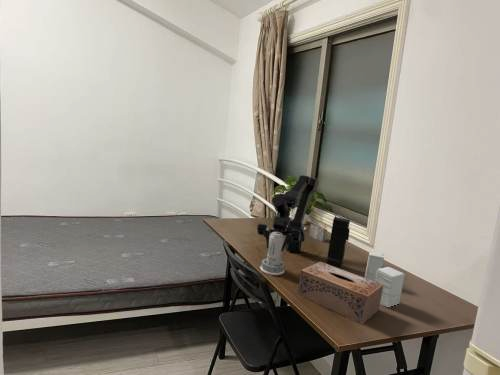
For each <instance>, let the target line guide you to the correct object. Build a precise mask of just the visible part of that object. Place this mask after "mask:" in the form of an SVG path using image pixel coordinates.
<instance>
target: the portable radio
mask: <svg viewBox="0 0 500 375" xmlns="http://www.w3.org/2000/svg"><path fill="white" fill-rule="evenodd" d="M350 221H351V220H350V219H347V218H344V217H343V218H342V217H338V216H337V215H335V216H334V218H333V220H332V227H331V233H330V239H329V244H328V252H327V257H326V263H325V264H328V265H331V266H334V267H336V268H339V269H341V268H342V267H343V264H344V257H345V251H346V246H347V242H348V241H349V238H350V230H351V229H350V228H349V227H350Z"/></svg>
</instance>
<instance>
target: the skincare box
mask: <svg viewBox="0 0 500 375" xmlns="http://www.w3.org/2000/svg"><path fill="white" fill-rule="evenodd" d="M384 260H385V256H384V254H382V253H377V252H372V251H369V253H368V258H367V262H366V268H365V273H364V277H363V278H366V279H369V280H372V281H374V282H375V279H376V273H377V269H380V268H383V265H384Z"/></svg>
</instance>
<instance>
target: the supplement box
mask: <svg viewBox="0 0 500 375" xmlns="http://www.w3.org/2000/svg"><path fill="white" fill-rule="evenodd" d="M405 275H406V274H405V273H403V272H401V271H399V270H397V269H394V268H392V267H390V266H385V267H382V268H380V269H377V273H376V279H375V282H377V283H380V284H382V285H383V290H382V296H381V301H380V305H381V304H382V305H381V306H383V305H384V306H386V307H389V308H391V306H393V307H395V306H394V305H396V306H398V305H397V304H399V305H400V302H401V295H402V291H403V286H404V280H405V277H406V276H405ZM384 306H383V307H384ZM386 307H385V308H386Z"/></svg>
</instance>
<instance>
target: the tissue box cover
mask: <svg viewBox="0 0 500 375" xmlns="http://www.w3.org/2000/svg"><path fill="white" fill-rule="evenodd" d="M382 290H383V285H382V284H380V283H377V282H374V281H372V280H369V279H366V278H364V277H363V276H360V275H358V274H355V273H352V272H349V271H346V270H345V269H341V268H336V267H334V266H331V265H328V264H326V263H325V262H323V261H318V262H316V263H314V264H311V265H309V266H307V267H305V268H303V269H301V270H300V276H299V282H298V289H297V295H298V294H299V295H298V296H300V295H301V296H300V297H302V296H303V298H305V299H307V300H309V299H310V300H309V301H311V300H312V301H311V302H314V303H316V304H318V305H320V304H321V305H320V306H322V305H323V306H322V307H325V308H327V309H329V310H332V311H334V312H336V313H338V314H340V313H341V314H340V315H342V314H343V316H344V315H345V317H347V318H349V317H350V319H351V318H353V319H355V320H357V321H356V322H358V321H359V322H358V323H360V322H362V323H363V324H365V323H366V322H367V321H368V320H369V319H370V318H371V317H372V316H374V315H375V314H376V313H377V312H378V311H379V310H380V306H381V304H380V301H381V296H382ZM377 310H378V311H377ZM376 311H377V312H376ZM375 312H376V313H375ZM374 313H375V314H374ZM373 314H374V315H373ZM370 316H371V317H370ZM369 317H370V318H369ZM368 318H369V319H368ZM353 319H352V320H353ZM367 319H368V320H367ZM355 320H354V321H355ZM366 320H367V321H366ZM365 321H366V322H365ZM362 323H361V324H362Z"/></svg>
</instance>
